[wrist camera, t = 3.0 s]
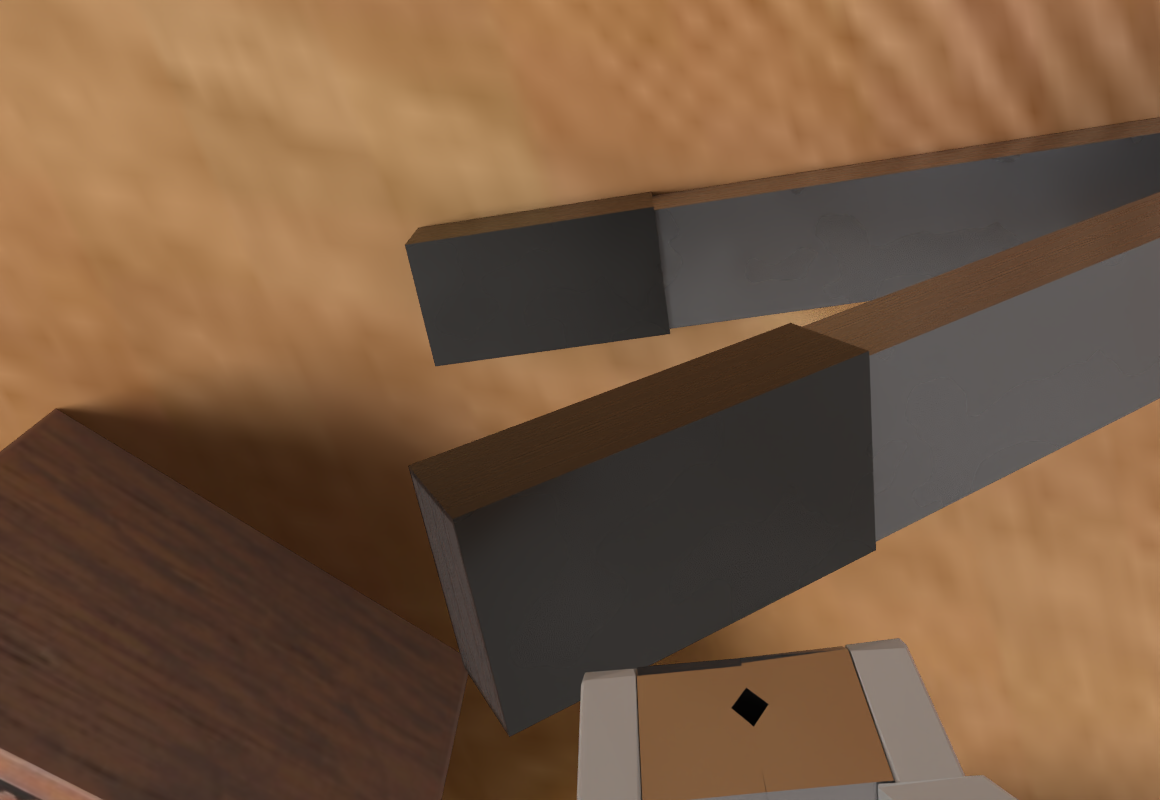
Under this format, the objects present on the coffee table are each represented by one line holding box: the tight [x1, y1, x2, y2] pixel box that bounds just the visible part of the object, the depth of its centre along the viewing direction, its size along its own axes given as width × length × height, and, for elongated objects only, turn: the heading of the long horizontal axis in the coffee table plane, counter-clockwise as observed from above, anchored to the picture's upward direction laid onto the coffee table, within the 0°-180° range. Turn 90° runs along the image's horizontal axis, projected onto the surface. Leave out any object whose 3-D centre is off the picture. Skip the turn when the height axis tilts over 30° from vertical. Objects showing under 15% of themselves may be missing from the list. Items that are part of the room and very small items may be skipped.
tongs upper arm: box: [408, 192, 1160, 737], centre depth 15 cm, size 23×3×2 cm, turn 100°
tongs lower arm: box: [405, 118, 1160, 366], centre depth 22 cm, size 28×3×2 cm, turn 99°
